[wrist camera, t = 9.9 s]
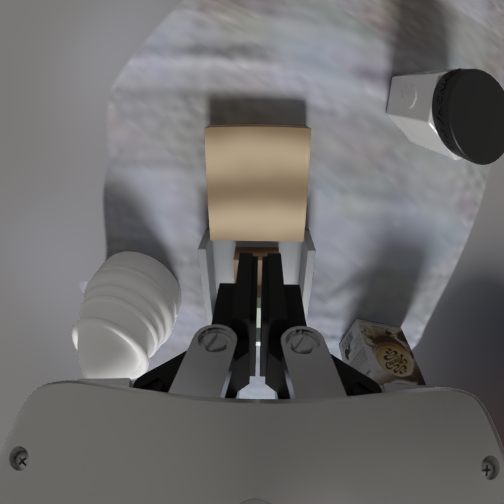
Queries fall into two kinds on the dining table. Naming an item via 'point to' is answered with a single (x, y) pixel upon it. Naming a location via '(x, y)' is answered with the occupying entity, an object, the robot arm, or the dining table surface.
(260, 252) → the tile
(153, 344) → the honey pot
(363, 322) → the coffee box
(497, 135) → the jar
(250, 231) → the board
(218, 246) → the tray
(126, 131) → the dining table surface
